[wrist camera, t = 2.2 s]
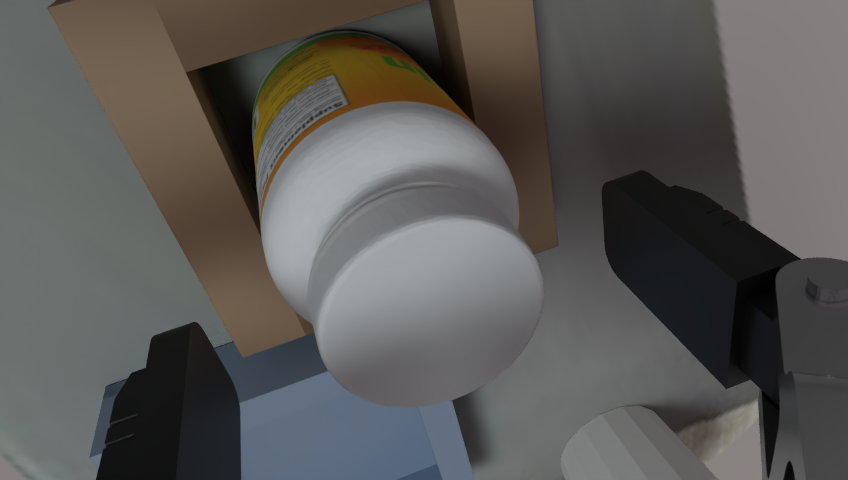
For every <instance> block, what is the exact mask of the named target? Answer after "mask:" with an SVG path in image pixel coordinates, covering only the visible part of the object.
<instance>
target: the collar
mask: <svg viewBox="0 0 848 480" xmlns="http://www.w3.org/2000/svg"><path fill="white" fill-rule="evenodd" d="M422 1H425V0H57V1H55V2H54V3H53V4H52V5H50V6H49V7H48V8H47V9H48V11H49V12H50V14H51V16H52V18H53V19H54V21H55V23H56V25H57V27H58V28H59V30H60V32H61V34H62V36H63V37H64V39H65V41H66V43H67V45H68V46H69V48H70V50H71V52H72V53H73V55H74V57H75V59H76V61H77V62H78V64H79V66H80V68H81V70H82V71H83V73H84V75H85V77H86V78H87V80H88V82H89V84H90V86H91V87H92V89H93V91H94V93H95V95H96V96H97V98H98V100H99V102H100V103H101V105H102V107H103V109H104V111H105V112H106V114H107V116H108V118H109V120H110V121H111V123H112V125H113V127H114V128H115V130H116V132H117V134H118V136H119V137H120V139H121V141H122V143H123V145H124V146H125V148H126V150H127V152H128V154H129V155H130V157H131V159H132V161H133V162H134V164H135V166H136V168H137V170H138V171H139V173H140V175H141V177H142V179H143V180H144V182H145V184H146V186H147V187H148V189H149V191H150V193H151V195H152V196H153V198H154V200H155V202H156V204H157V205H158V207H159V209H160V211H161V212H162V214H163V216H164V218H165V220H166V221H167V223H168V225H169V227H170V229H171V230H172V232H173V234H174V236H175V238H176V239H177V241H178V243H179V245H180V246H181V248H182V250H183V252H184V254H185V255H186V257H187V259H188V261H189V263H190V264H191V266H192V268H193V270H194V271H195V273H196V275H197V277H198V279H199V280H200V282H201V284H202V286H203V288H204V289H205V291H206V293H207V295H208V296H209V298H210V300H211V302H212V304H213V305H214V307H215V309H216V311H217V313H218V314H219V316H220V318H221V320H222V321H223V323H224V325H225V327H226V329H227V330H228V332H229V334H230V336H231V338H232V339H233V341H234V343H235V345H236V347H237V348H238V350H239V352H240V354H241V355H242V357H243V358H244V357H247V356H250V355H252V354H255V353H258V352H261V351H264V350H266V349H269V348H272V347H275V346H278V345H281V344H283V343H286V342H289V341H292V340H295V339H297V338H300V337H303V336H306V335H309V334H312V333H314V328H313V324H311V323H310V322H308V321H307V320H305V319H304V318H303V317H301V316H300V315H299V314H298V313H297V312H296V311H295V310H294V309H293V308H292V307H291V306H290V305H289V304H288V302H287V301H286V300H285V299H284V298H283V296H282V295H281V293H280V292H279V290H278V289H277V287H276V285H275V283H274V281H273V279H272V277H271V274H270V272H269V269H268V266H267V263H266V259H265V254H264V249H263V244H262V239H261V228H260V215H259V203H258V197H257V194H256V192H255V190H254V187H253V185H252V183H251V181H250V178H249V176H248V174H247V172H246V169H245V167H244V165H243V162H242V160H241V158H240V156H239V153H238V151H237V149H236V147H235V144H234V142H233V140H232V138H231V135H230V133H229V131H228V128H227V126H226V124H225V122H224V119H223V117H222V115H221V113H220V110H219V108H218V106H217V103H216V101H215V99H214V97H213V94H212V92H211V90H210V88H209V85H208V83H207V81H206V78H205V76H204V74H203V72H202V69H201V68H202V67H205V66H208V65H212V64H215V63H218V62H222V61H225V60H228V59H232V58H235V57H238V56H242V55H245V54H248V53H252V52H255V51H258V50H262V49H265V48H268V47H272V46H275V45H278V44H282V43H285V42H288V41H292V40H295V39H298V38H302V37H305V36H308V35H312V34H315V33H318V32H322V31H325V30H328V29H332V28H335V27H338V26H342V25H345V24H348V23H352V22H355V21H358V20H362V19H365V18H368V17H372V16H375V15H378V14H382V13H385V12H388V11H392V10H395V9H398V8H402V7H405V6H408V5H412V4H415V3H418V2H422ZM429 2H430V7H431V12H432V17H433V22H434V27H435V32H436V37H437V42H438V47H439V52H440V57H441V62H442V67H443V72H444V77H445V82H446V87H447V92H448V96H449V97H450V98H451V99H452V100H453V102H454V103H455V104H456V105H457V106H458V107H459V108H460V109H461V110H462V111H463V112H464V113H465V114H466V115H467V116H468V117H469V118H470V119H471V120H472V121H473V122H474V124H475V125H476V126H477V127H478V128H479V129H480V130H481V131H483V133H484V134H485V135H486V136H487V137H488V138H489V140H490V141H491V142H492V144H493V145H494V146H495V147H496V149H497V150H498V151H499V153H500V154H501V156H502V157H503V159H504V160H505V162H506V164H507V166H508V168H509V170H510V172H511V175H512V177H513V180H514V183H515V186H516V190H517V195H518V204H519V227H518V232H519V233H520V235H521V236H522V238H523V239H524V240H525V242H526V243H527V244H528V246H529V247H530V249H531V250H532V252H533V253H534V254H537V253H540V252H542V251H545V250H548V249H551V248H554V247H557V246H558V237H557V228H556V218H555V209H554V199H553V189H552V180H551V170H550V161H549V151H548V142H547V132H546V123H545V113H544V104H543V94H542V84H541V75H540V65H539V56H538V46H537V37H536V27H535V18H534V8H533V0H429Z"/></svg>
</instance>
